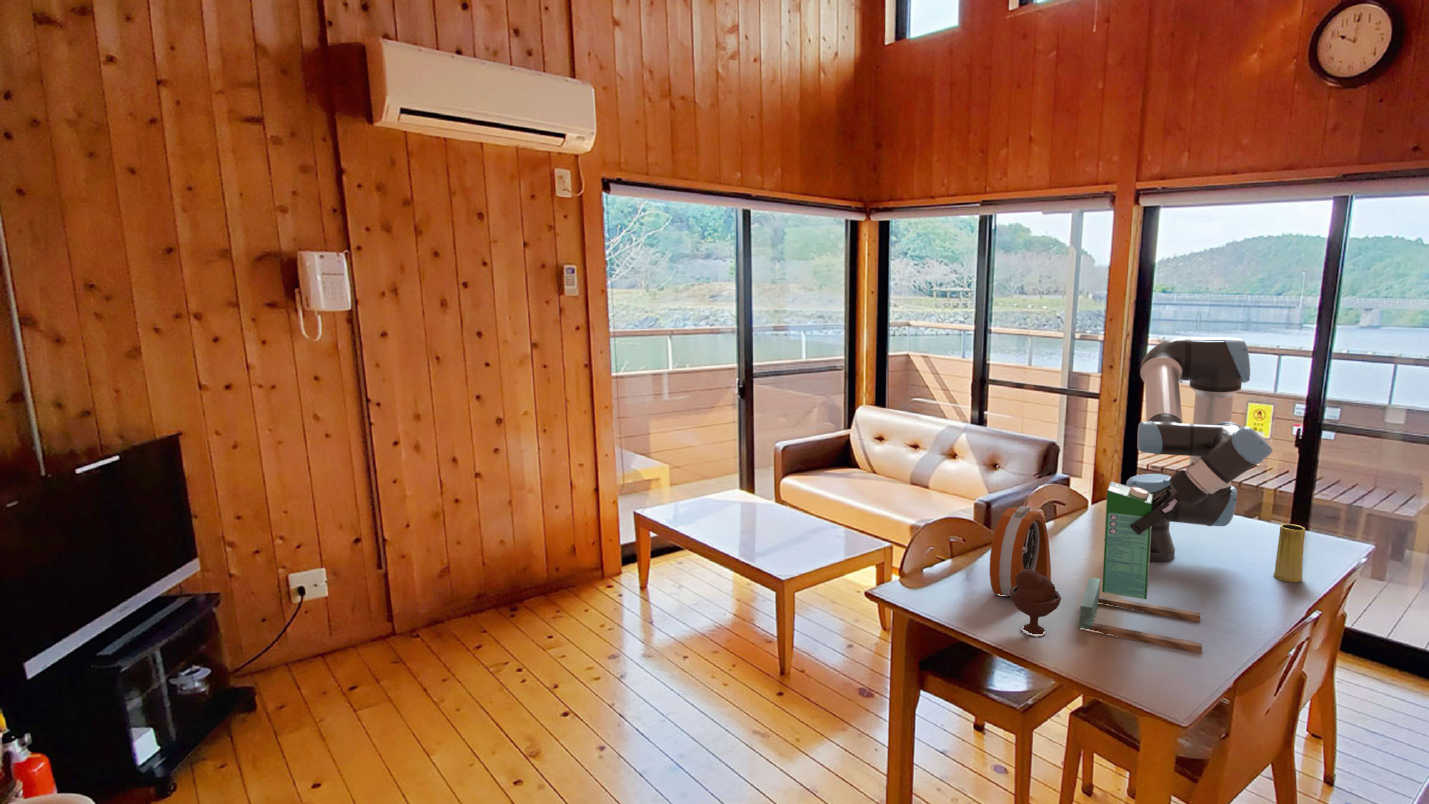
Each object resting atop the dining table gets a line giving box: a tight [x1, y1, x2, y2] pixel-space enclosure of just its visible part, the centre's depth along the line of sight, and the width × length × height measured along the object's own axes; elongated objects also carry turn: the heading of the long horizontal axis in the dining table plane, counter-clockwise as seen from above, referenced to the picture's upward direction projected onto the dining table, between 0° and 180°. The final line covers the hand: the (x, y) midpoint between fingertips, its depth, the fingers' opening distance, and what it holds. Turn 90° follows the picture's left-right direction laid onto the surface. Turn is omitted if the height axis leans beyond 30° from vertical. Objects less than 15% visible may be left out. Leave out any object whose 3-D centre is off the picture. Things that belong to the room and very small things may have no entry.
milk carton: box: [1101, 480, 1153, 600], centre depth 173 cm, size 9×9×25 cm
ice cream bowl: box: [1010, 569, 1062, 634], centre depth 172 cm, size 11×11×15 cm
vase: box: [1273, 523, 1306, 583], centre depth 196 cm, size 6×6×14 cm
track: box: [1079, 576, 1203, 654], centre depth 174 cm, size 24×19×6 cm
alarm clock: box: [989, 505, 1052, 597], centre depth 194 cm, size 22×10×23 cm, turn 137°
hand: (1109, 541), depth 176 cm, fingers open, 4 cm apart
